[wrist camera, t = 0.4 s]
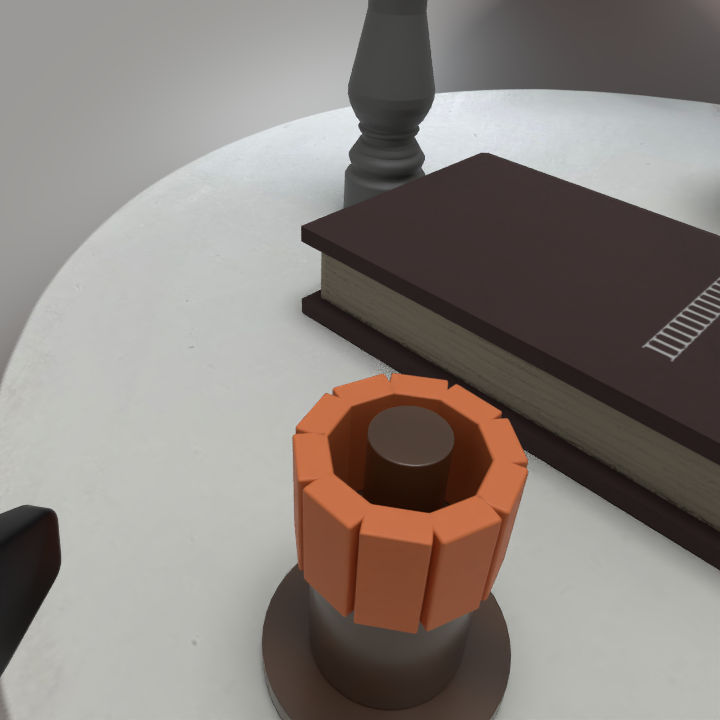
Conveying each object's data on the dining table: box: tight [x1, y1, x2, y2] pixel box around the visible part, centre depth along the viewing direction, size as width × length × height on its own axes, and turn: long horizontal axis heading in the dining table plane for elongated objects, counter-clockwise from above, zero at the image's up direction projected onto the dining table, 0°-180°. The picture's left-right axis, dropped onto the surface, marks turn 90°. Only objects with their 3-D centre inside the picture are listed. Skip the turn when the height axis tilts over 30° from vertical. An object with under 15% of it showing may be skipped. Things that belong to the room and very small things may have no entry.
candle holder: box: [344, 0, 435, 208], centre depth 47 cm, size 6×6×25 cm
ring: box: [292, 373, 528, 634], centre depth 20 cm, size 6×7×4 cm
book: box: [301, 153, 720, 569], centre depth 39 cm, size 28×20×6 cm
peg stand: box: [262, 406, 511, 720], centre depth 22 cm, size 9×9×11 cm
